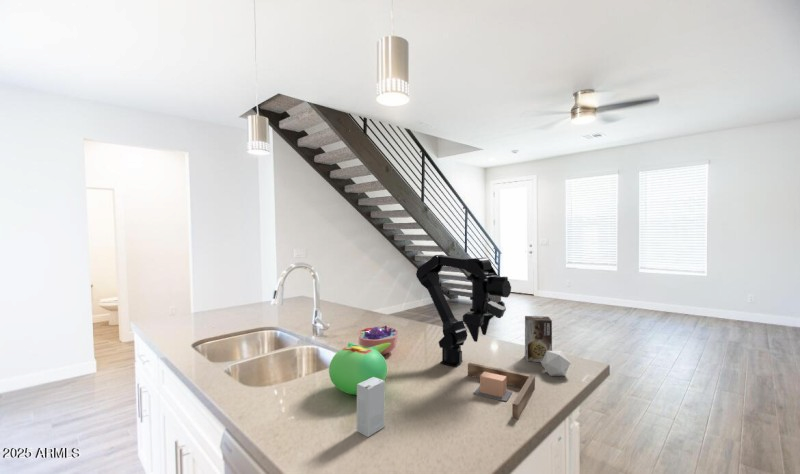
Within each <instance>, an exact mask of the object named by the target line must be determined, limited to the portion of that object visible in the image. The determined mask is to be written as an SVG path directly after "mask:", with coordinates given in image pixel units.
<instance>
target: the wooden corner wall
mask: <svg viewBox="0 0 800 474" xmlns="http://www.w3.org/2000/svg"><path fill="white" fill-rule="evenodd" d="M483 372H488V373H493V374H498V375H503V376H507V381H506V385H508V386H513V387H517V388H521V389H520V390H519V392H518V393H517V395H516V397H515V399H514V400H513V402H512V409H511V410H512V413H511V414H512V415H511V416H512V418H511V419H513V420H517V421H518V420H519V419H520V417H521V415H522V414H523V412H524V410H525V408H526V406H527V404H528V402H529V400H530V399H531V397H532V396H533V393H534V391H535V390H536V376H535V375H533V374H528V373H522V372H519V371H512V370H507V369H502V368H499V367H493V366H488V365H483V364H478V363H472V362H468V363H467V376H468V377H473V378H475V379H476V378H477V379H480V375H481V374H482V373H483Z"/></svg>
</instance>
